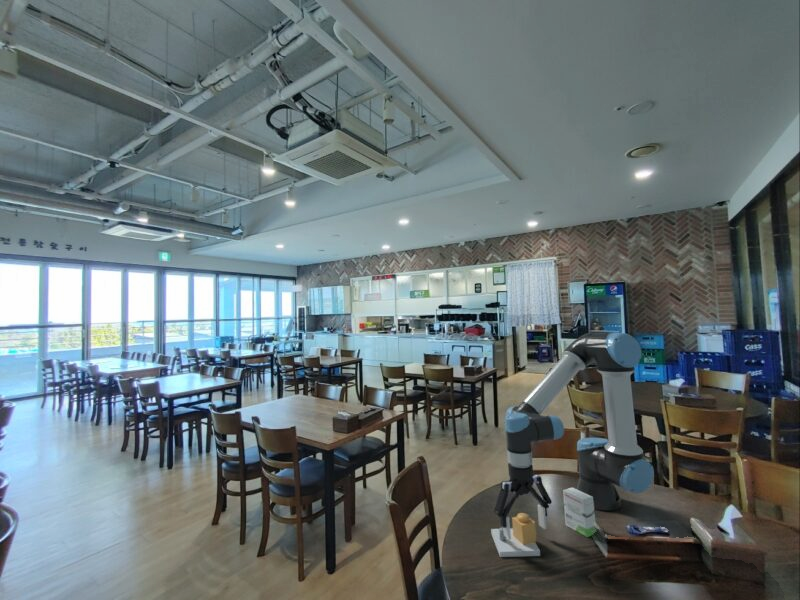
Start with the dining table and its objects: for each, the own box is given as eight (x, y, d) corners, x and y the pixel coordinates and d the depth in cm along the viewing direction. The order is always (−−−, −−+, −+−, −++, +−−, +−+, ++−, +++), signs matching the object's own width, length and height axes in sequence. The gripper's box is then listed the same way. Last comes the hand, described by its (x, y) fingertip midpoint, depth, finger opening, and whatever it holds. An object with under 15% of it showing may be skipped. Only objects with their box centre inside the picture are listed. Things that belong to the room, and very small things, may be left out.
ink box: (597, 533, 117) (594, 496, 118) (587, 538, 115) (584, 500, 116) (574, 521, 125) (571, 486, 126) (564, 525, 123) (561, 489, 124)
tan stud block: (536, 541, 112) (534, 518, 113) (523, 545, 111) (521, 521, 111) (526, 532, 117) (524, 510, 118) (513, 536, 115) (511, 513, 116)
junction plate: (527, 532, 120) (526, 517, 120) (540, 555, 108) (539, 539, 108) (491, 533, 120) (490, 519, 120) (500, 557, 108) (499, 540, 108)
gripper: (543, 453, 123) (548, 517, 121) (480, 466, 115) (484, 534, 113) (559, 460, 116) (565, 529, 114) (493, 475, 108) (498, 548, 106)
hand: (525, 532), depth 114 cm, fingers open, 13 cm apart
